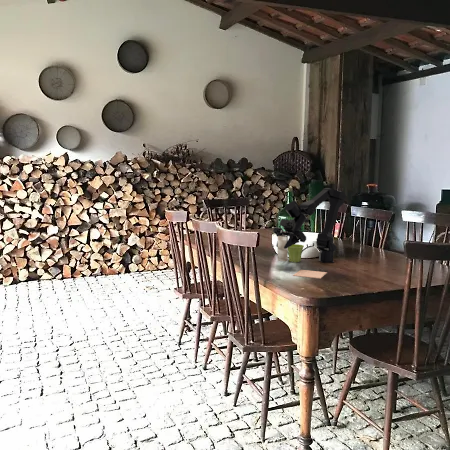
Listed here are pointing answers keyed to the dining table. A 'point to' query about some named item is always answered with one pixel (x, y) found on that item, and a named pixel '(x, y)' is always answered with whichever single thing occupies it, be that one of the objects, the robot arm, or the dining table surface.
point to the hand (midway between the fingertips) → (280, 247)
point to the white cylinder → (282, 248)
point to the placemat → (310, 274)
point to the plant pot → (295, 252)
